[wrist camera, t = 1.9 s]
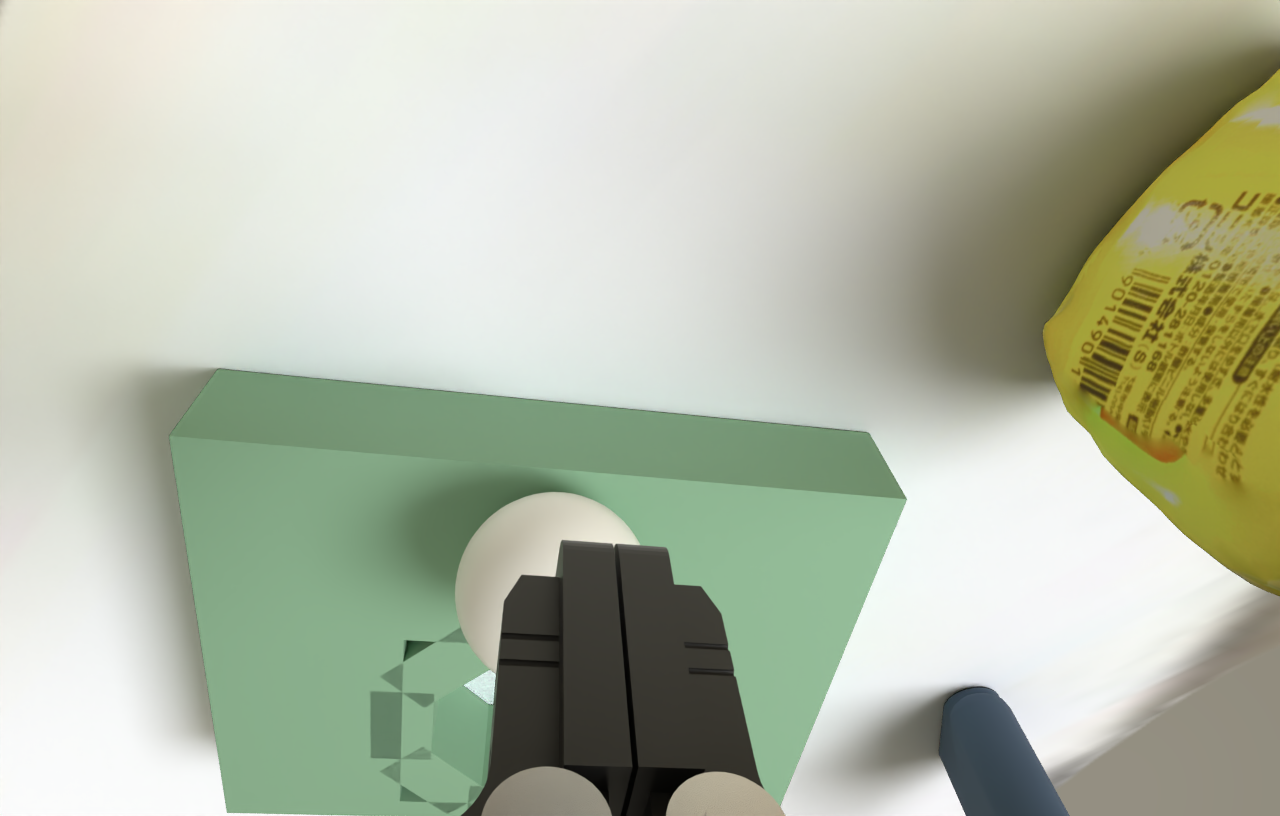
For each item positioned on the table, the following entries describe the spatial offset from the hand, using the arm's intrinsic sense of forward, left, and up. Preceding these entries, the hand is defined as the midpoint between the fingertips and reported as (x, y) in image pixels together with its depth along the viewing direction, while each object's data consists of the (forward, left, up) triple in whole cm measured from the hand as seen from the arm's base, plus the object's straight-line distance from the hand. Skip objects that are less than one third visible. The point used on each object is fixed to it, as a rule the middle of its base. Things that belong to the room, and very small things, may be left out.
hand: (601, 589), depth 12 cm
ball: (+7, 0, -7) cm, 10 cm away
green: (+13, 0, -13) cm, 18 cm away
